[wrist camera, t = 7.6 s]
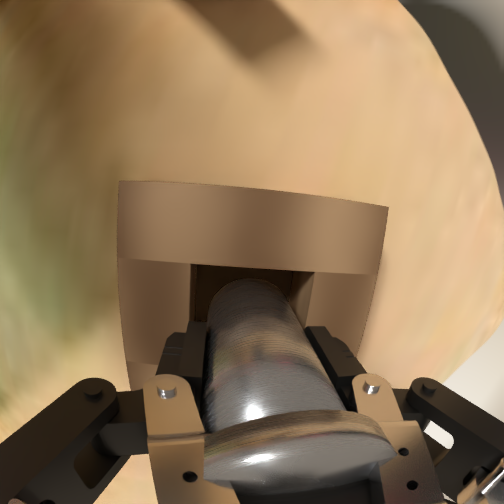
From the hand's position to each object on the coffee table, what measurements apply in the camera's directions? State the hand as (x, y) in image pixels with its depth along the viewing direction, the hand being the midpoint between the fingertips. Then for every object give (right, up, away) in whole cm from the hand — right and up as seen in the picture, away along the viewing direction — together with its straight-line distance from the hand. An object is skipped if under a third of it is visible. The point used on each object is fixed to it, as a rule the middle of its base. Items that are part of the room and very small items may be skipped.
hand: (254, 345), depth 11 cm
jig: (-1, +1, +5) cm, 5 cm away
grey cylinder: (0, +1, +3) cm, 3 cm away
